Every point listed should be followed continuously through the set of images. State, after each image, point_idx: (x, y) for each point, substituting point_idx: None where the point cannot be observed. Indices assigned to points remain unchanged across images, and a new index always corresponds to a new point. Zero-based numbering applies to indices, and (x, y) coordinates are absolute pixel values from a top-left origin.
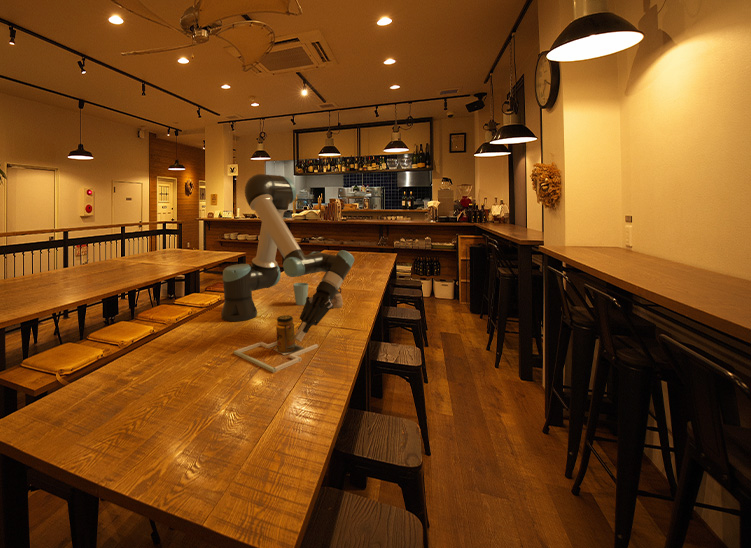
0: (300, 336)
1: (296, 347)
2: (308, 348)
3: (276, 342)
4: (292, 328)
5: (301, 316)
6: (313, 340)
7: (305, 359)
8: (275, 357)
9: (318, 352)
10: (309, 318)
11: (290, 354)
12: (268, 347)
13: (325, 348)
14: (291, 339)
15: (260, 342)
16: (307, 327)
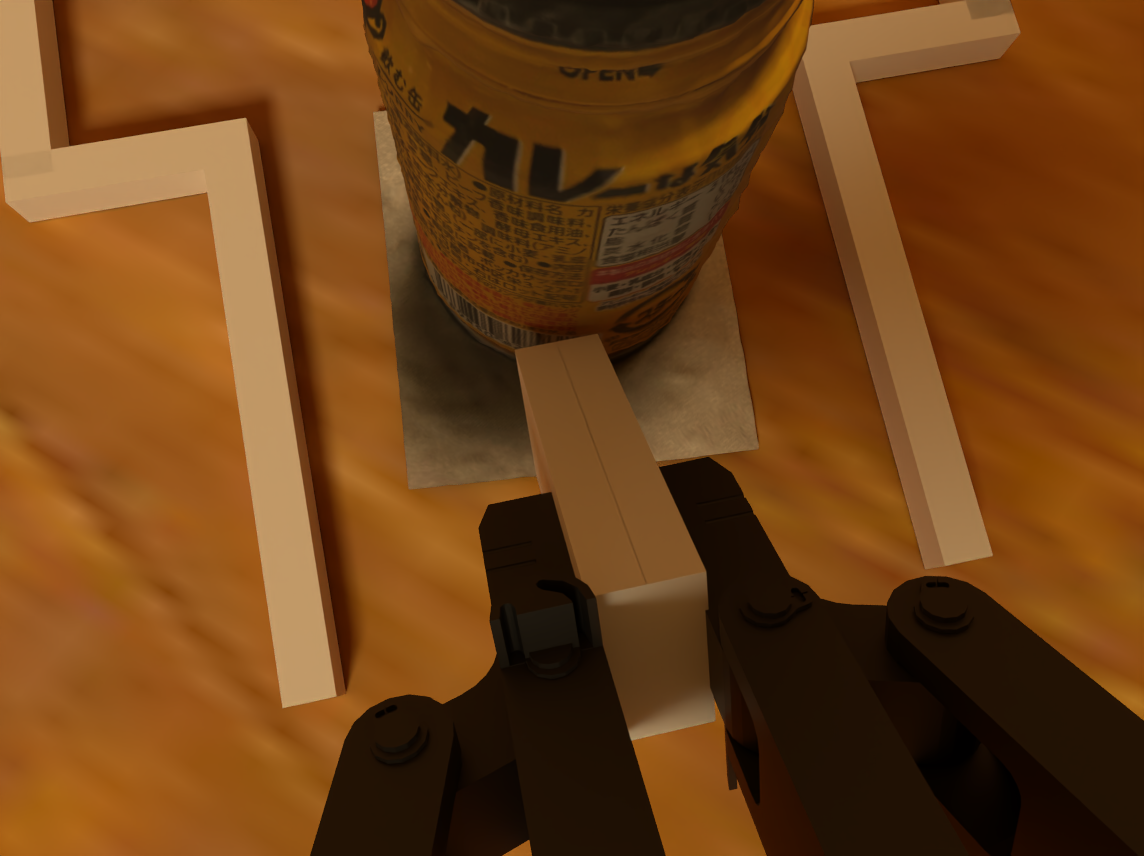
0: (537, 452)
1: None
2: (251, 477)
3: (845, 188)
4: (385, 88)
5: (963, 638)
6: None
7: (26, 289)
8: None
9: (103, 592)
10: (589, 740)
11: (240, 136)
12: None
13: (161, 792)
14: (402, 172)
15: (995, 7)
16: (492, 599)
